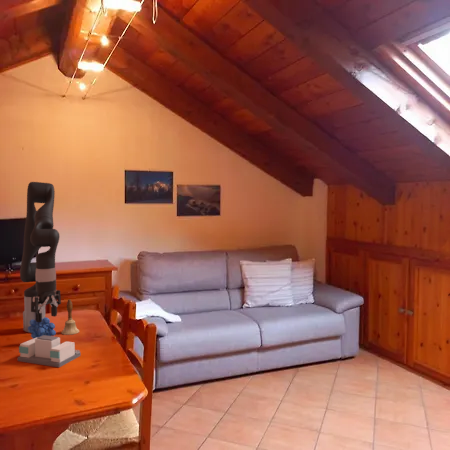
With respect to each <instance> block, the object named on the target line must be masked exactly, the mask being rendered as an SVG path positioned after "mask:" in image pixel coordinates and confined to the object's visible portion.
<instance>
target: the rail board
mask: <svg viewBox="0 0 450 450" xmlns="http://www.w3.org/2000/svg"><path fill="white" fill-rule="evenodd" d="M35 339H37V337H36V338H34V339H33V338H32V339H29V340H27V341H24V342H22V343H20V344H19V346H18V353H19V354H20V355H19V356H17V362H23V363H28V364H35V365H43V366H48V367H56V368H61V367H63V366H64V365H66V364H69V363H70V362H71V361H74V360H76V359H77V358H79V357H81V350H80V349H76V347H75V346H76V345H75V342H74V341H73V342H72V341H68V340H67V341H64V342H62V343H60V345H58V346H56V347H53V348H51V351H50V357H51V359H50V358H43V357H36V356H35Z"/></svg>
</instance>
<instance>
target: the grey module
mask: <svg viewBox="0 0 450 450" xmlns="http://www.w3.org/2000/svg"><path fill="white" fill-rule="evenodd" d="M60 344H61V337H58V336H55V335H54V336H46V335H43V336H40V337H38V338H37V339H35V356H36V357H43V358H50V359H51V357H50V351H51V348H53V347H56V346H58V345H60Z"/></svg>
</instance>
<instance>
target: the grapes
mask: <svg viewBox="0 0 450 450" xmlns="http://www.w3.org/2000/svg"><path fill="white" fill-rule="evenodd" d="M35 320H36V318H35ZM35 320H33V319H32V320H30V322H29V323H30V325H31V326H29V327H28V331H29V332H31V334H30V337H31V338H32V339H34V338H36V337H37V338H38V337H40V336H43V335H46V336H54V337H55V336H56V333H57V332H56V330H55V329H56V324H55V323H54V322H51V320H50V318H49V317H46V316H45V318H43V319H42V322H36V321H35ZM29 332H28V333H29Z"/></svg>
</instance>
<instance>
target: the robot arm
mask: <svg viewBox="0 0 450 450" xmlns="http://www.w3.org/2000/svg"><path fill="white" fill-rule="evenodd" d="M26 191H27V192H26V217H25V225H24V235H23V249H22V255H21V264H20V269H19V277H20V280H21V282H23V283H32V282H35V283H34V284H33V285H32V286H29V287H27V288H26V289H24V290H23V292H24V293H23V296H24V297H23V300H24V311H22V321H23V322H22V325H23V326H22V327H23V328H22V329H23V331H24V332H26V333H31V332H29V331H28V327H29V326H31V325H30V323H29V322H30V320H32V319H33V320H35V318H36V320H35V321H36V322H42V319H43V318H45V317H46V306H47V305H50V306H51V307H50V315H51V317H57V314H58V307H59V305H61V304H62V300H61V299H62V298H61V290H59V289H57V271H56V253H57V249H58V245H59V241H60V233H59V231H58V230H57V229H55V228H54V216H53V215H54V206H55V196H56V195H55V194H56V192H55V186H54V185H53V184H52V183H50V182H40V181H39V182H38V181H30V182H29V183H28V186H27V190H26ZM35 204H43V205H41V206H40V207H39V208H38V209H36V206H35ZM41 248H48V250H46V251H43V252H39V253H37V252H38V251H39V250H40V249H41ZM36 253H37V254H36ZM34 256H35V261H34V262H33V261H32V260H33V258H34Z"/></svg>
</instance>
